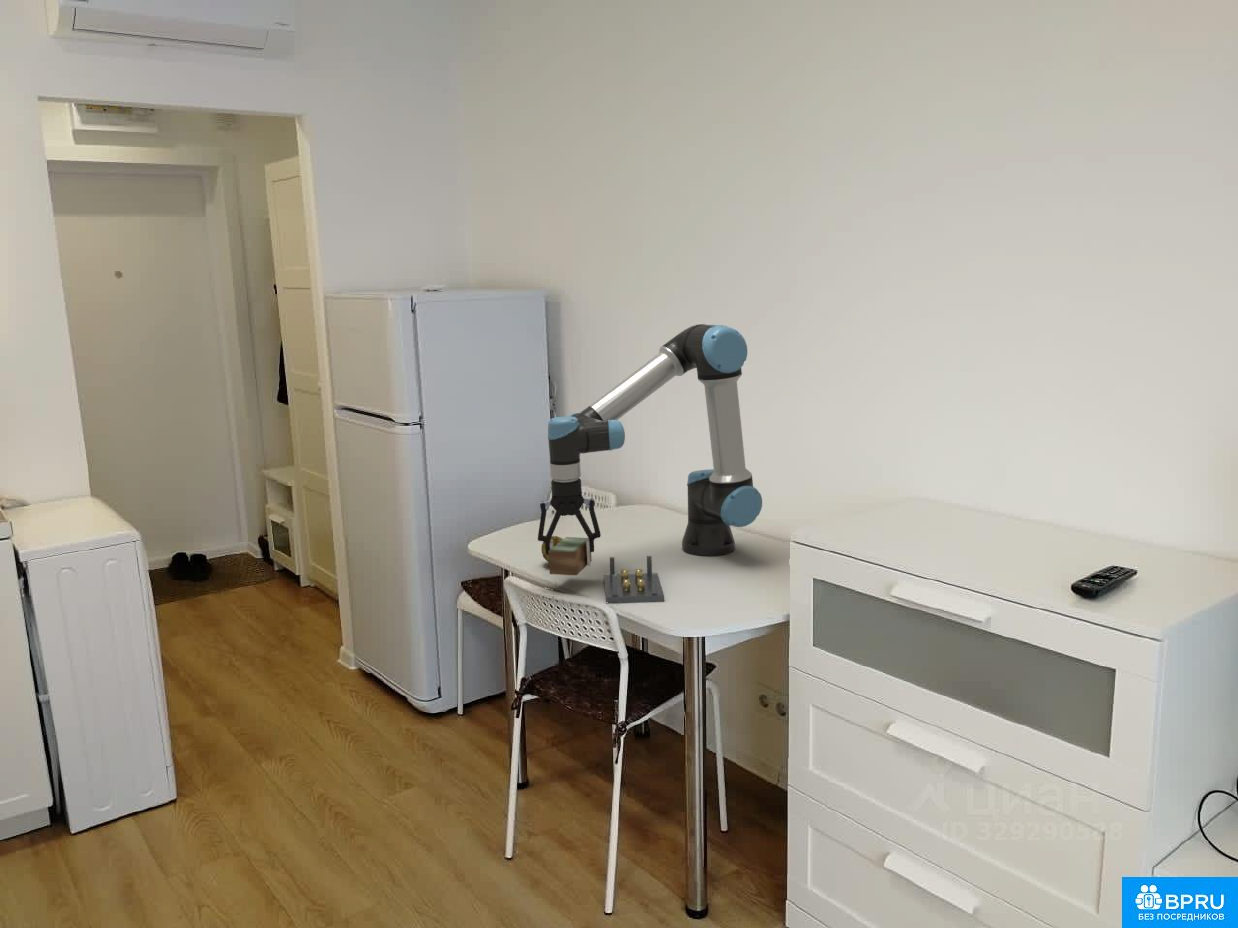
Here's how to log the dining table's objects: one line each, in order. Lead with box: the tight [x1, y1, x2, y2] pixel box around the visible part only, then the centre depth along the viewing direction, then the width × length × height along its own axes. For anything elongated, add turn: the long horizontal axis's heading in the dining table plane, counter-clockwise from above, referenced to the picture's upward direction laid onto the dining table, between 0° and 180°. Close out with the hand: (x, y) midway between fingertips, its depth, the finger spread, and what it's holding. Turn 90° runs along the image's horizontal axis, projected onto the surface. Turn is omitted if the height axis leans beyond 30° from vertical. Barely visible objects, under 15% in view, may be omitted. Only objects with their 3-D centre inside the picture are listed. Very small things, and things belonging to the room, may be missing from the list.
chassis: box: [603, 555, 665, 604], centre depth 245 cm, size 18×14×6 cm
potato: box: [540, 535, 564, 564], centre depth 265 cm, size 8×13×8 cm, turn 16°
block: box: [548, 536, 593, 576], centre depth 248 cm, size 12×7×6 cm, turn 163°
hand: (570, 565), depth 249 cm, fingers closed on block, 8 cm apart
